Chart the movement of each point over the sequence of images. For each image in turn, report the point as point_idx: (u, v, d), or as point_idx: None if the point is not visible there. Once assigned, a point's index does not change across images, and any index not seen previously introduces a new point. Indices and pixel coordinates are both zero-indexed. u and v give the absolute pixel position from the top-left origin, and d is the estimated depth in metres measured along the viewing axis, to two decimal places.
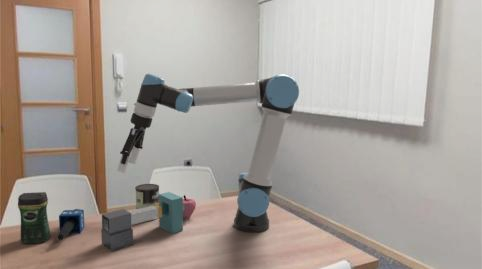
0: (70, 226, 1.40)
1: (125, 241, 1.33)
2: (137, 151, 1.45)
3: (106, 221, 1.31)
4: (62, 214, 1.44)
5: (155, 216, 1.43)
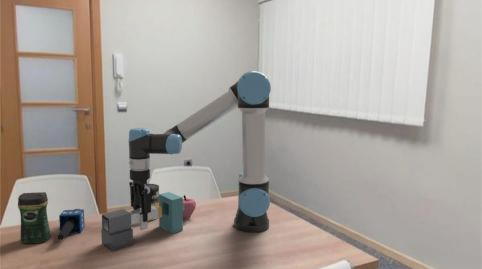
0: (70, 226, 1.40)
1: (125, 241, 1.33)
2: None
3: (106, 221, 1.31)
4: (62, 214, 1.44)
5: (155, 216, 1.43)
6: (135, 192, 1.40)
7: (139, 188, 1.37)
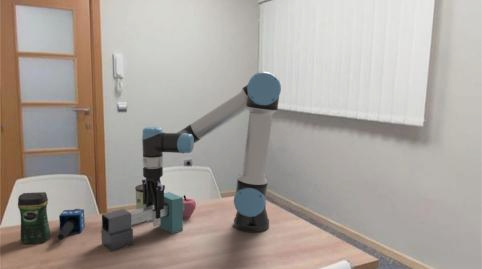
0: (70, 226, 1.40)
1: (125, 241, 1.33)
2: None
3: None
4: (62, 214, 1.44)
5: (167, 213, 1.47)
6: (148, 189, 1.44)
7: (152, 185, 1.41)
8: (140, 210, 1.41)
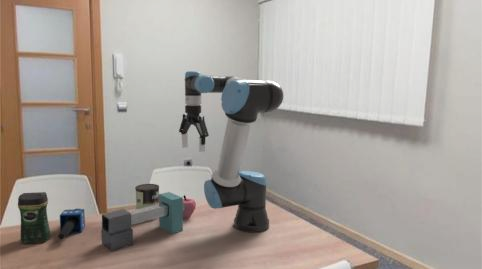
0: (71, 225, 1.41)
1: (125, 241, 1.33)
2: (186, 136, 1.78)
3: None
4: (63, 213, 1.45)
5: (167, 213, 1.47)
6: (187, 123, 1.73)
7: (193, 119, 1.69)
8: (140, 210, 1.40)
